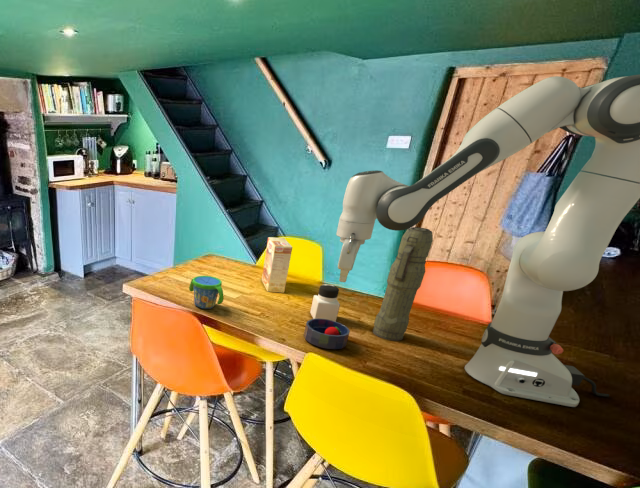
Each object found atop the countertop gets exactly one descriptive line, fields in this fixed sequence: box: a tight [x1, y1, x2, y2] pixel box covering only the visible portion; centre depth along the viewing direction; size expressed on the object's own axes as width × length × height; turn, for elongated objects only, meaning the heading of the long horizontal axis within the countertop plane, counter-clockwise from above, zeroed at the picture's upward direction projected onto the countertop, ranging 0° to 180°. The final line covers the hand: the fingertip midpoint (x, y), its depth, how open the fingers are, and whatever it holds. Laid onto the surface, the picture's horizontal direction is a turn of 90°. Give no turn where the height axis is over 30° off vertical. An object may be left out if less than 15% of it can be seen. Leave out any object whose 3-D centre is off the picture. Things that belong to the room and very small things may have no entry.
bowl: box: [303, 318, 351, 350], centre depth 126 cm, size 12×12×5 cm
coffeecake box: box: [261, 236, 293, 293], centre depth 168 cm, size 15×7×20 cm, turn 172°
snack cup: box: [188, 275, 224, 310], centre depth 149 cm, size 16×10×10 cm
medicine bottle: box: [309, 283, 341, 322], centre depth 141 cm, size 7×7×12 cm
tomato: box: [325, 327, 341, 336], centre depth 126 cm, size 4×4×4 cm
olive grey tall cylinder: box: [372, 226, 434, 342], centre depth 125 cm, size 9×12×35 cm
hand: (344, 276), depth 119 cm, fingers open, 8 cm apart
